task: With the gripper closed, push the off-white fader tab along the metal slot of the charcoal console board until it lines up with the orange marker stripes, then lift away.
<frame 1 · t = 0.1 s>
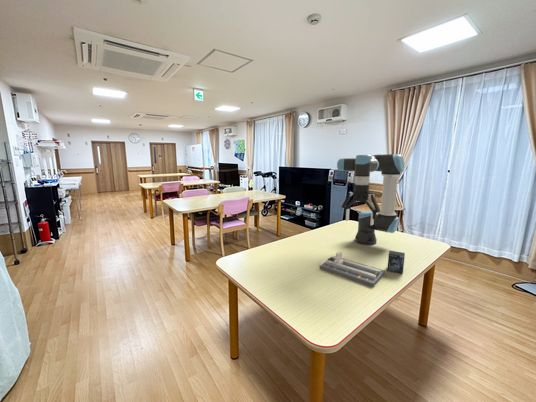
hand: (359, 222, 131), 28 cm above the table, fingers open, 13 cm apart
console: (351, 271, 134), on the table
box: (395, 270, 135), on the table
fader tab: (338, 258, 139), point 6 cm above the table, slide at -8.0 cm
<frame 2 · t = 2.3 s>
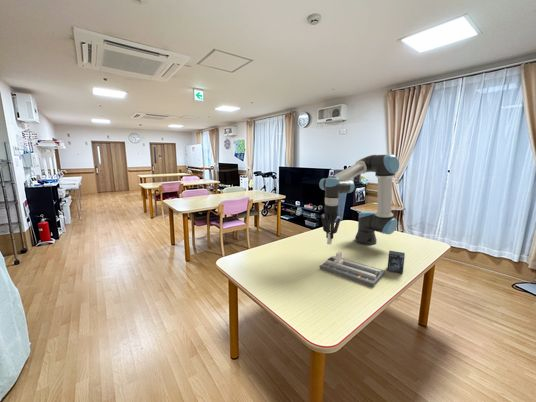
hand: (329, 243, 141), 13 cm above the table, fingers closed
nothing on the table moved.
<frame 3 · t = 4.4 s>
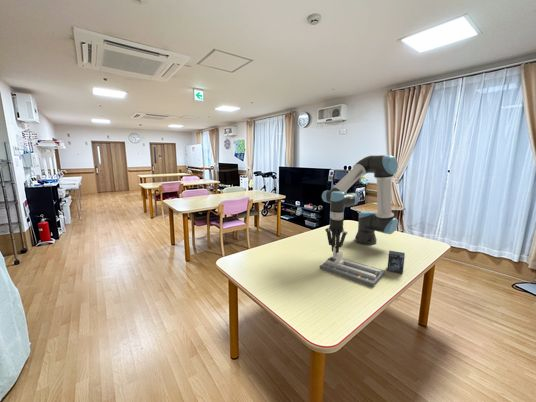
hand: (335, 257, 140), 5 cm above the table, fingers closed
fader tab: (339, 258, 138), point 6 cm above the table, slide at -7.6 cm, touching gripper
everything else where it was.
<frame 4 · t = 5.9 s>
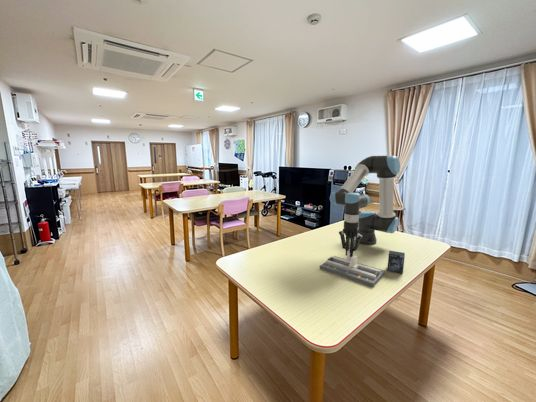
hand: (348, 261, 135), 5 cm above the table, fingers closed
fader tab: (353, 262, 133), point 6 cm above the table, slide at 0.9 cm, touching gripper
everything else where it was.
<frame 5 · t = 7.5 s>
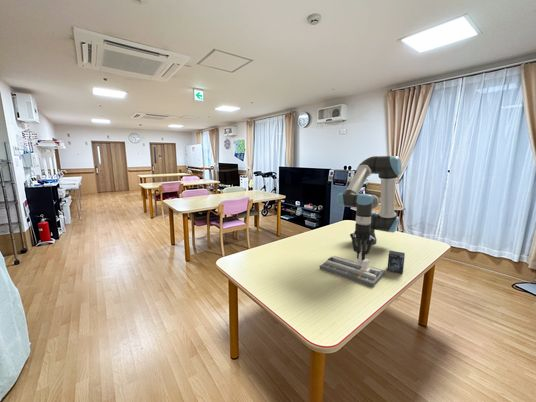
hand: (360, 264, 130), 5 cm above the table, fingers closed
fader tab: (365, 266, 128), point 6 cm above the table, slide at 7.5 cm, touching gripper
everything else where it was.
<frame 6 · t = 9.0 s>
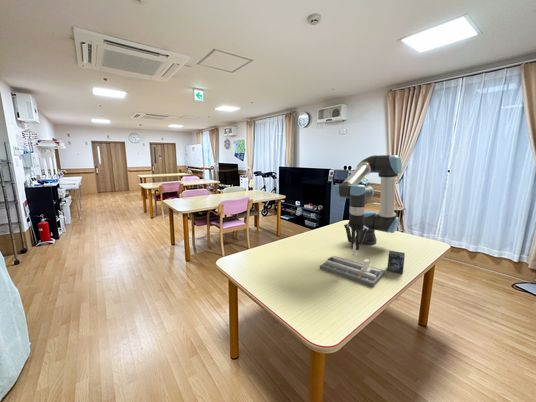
hand: (354, 254, 132), 10 cm above the table, fingers closed
fader tab: (366, 266, 128), point 6 cm above the table, slide at 7.7 cm
everything else where it was.
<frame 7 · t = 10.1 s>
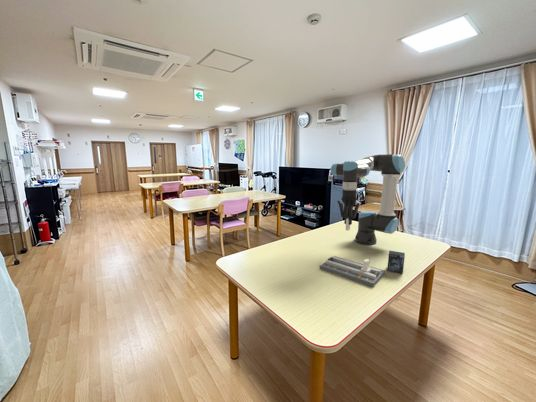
hand: (347, 229, 137), 22 cm above the table, fingers closed
nothing on the table moved.
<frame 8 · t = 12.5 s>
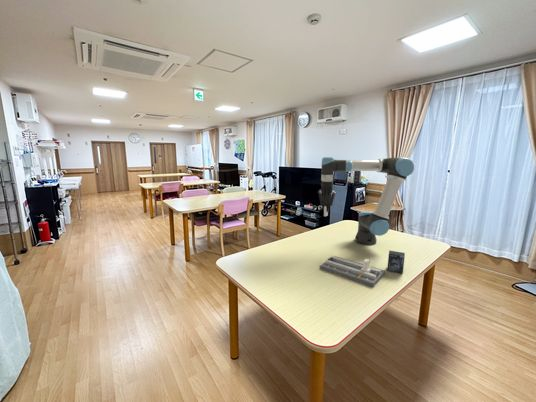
hand: (325, 215, 161), 24 cm above the table, fingers closed
nothing on the table moved.
at the end: fader tab slide at 7.7 cm; fader tab touching nothing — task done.
